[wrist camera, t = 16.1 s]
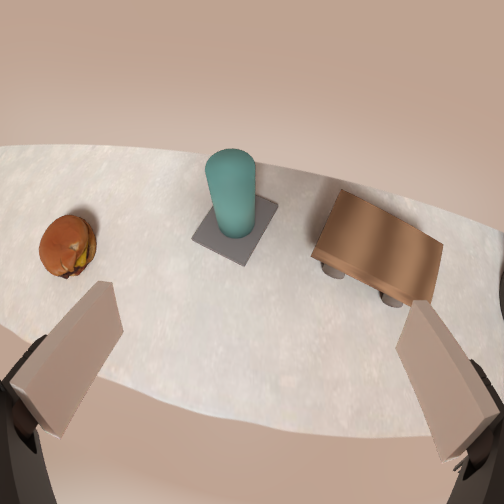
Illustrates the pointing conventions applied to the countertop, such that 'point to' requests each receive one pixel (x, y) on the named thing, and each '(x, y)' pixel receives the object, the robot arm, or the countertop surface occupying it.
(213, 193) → the roller
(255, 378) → the countertop surface
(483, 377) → the robot arm
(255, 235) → the pad
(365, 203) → the slab
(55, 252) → the burger
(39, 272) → the countertop surface
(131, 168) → the countertop surface
